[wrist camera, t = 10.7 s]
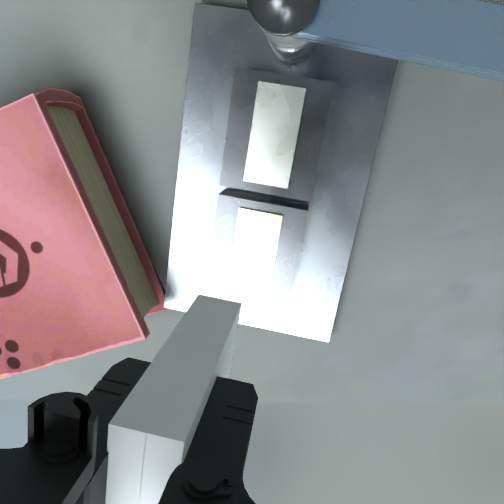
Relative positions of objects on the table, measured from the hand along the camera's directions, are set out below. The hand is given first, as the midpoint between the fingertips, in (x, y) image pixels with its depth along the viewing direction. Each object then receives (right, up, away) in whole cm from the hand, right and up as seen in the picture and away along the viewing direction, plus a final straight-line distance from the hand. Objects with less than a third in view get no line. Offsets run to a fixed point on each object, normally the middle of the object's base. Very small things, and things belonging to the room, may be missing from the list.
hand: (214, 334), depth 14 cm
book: (-13, +4, +15) cm, 20 cm away
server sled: (+2, +7, +11) cm, 13 cm away
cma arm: (+9, +11, +2) cm, 14 cm away
